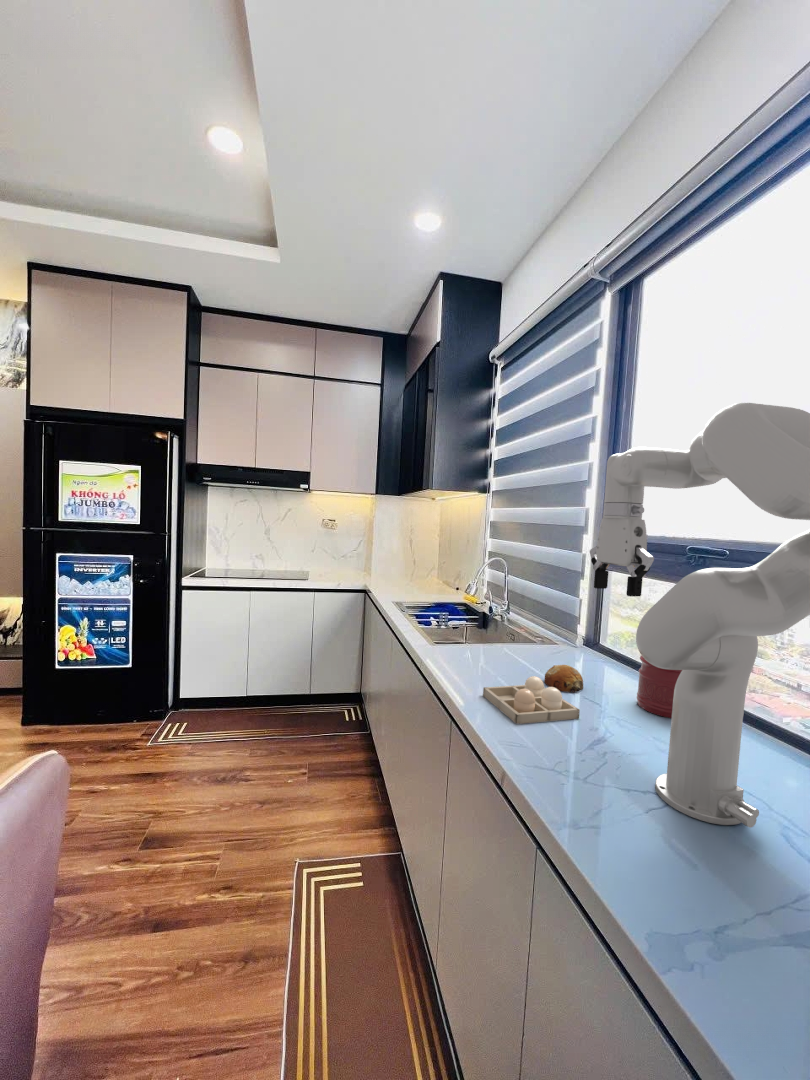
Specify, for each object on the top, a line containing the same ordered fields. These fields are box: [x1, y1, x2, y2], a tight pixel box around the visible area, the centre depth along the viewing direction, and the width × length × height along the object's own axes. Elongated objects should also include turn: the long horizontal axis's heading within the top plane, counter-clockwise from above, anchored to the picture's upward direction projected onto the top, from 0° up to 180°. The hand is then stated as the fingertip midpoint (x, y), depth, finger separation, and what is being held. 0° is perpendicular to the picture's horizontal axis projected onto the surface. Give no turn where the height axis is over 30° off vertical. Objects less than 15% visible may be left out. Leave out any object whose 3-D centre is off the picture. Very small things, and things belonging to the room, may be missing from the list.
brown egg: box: [514, 689, 535, 713], centre depth 104 cm, size 5×5×6 cm
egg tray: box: [482, 684, 581, 725], centre depth 109 cm, size 16×16×3 cm
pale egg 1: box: [524, 675, 545, 697], centre depth 113 cm, size 5×5×6 cm
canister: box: [636, 654, 682, 719], centre depth 113 cm, size 13×13×18 cm
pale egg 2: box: [541, 686, 563, 710], centre depth 107 cm, size 5×5×6 cm
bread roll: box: [543, 664, 584, 694], centre depth 125 cm, size 10×10×8 cm
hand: (616, 592), depth 99 cm, fingers open, 9 cm apart
